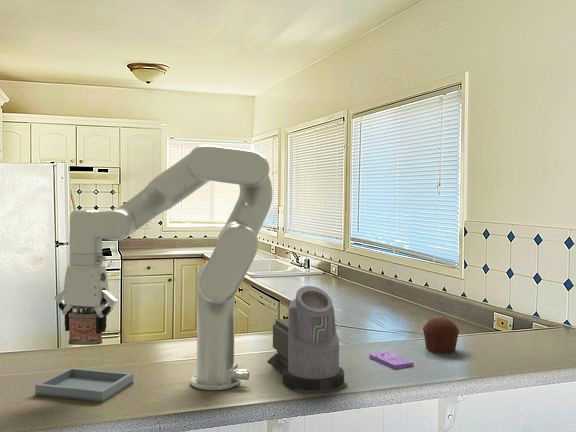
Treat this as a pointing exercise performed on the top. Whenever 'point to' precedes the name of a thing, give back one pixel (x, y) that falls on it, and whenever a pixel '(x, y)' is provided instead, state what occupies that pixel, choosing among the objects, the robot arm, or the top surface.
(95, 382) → the tray
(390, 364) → the sponges
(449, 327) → the muffin
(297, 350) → the juicer
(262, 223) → the robot arm
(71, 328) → the lighter
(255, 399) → the top surface
